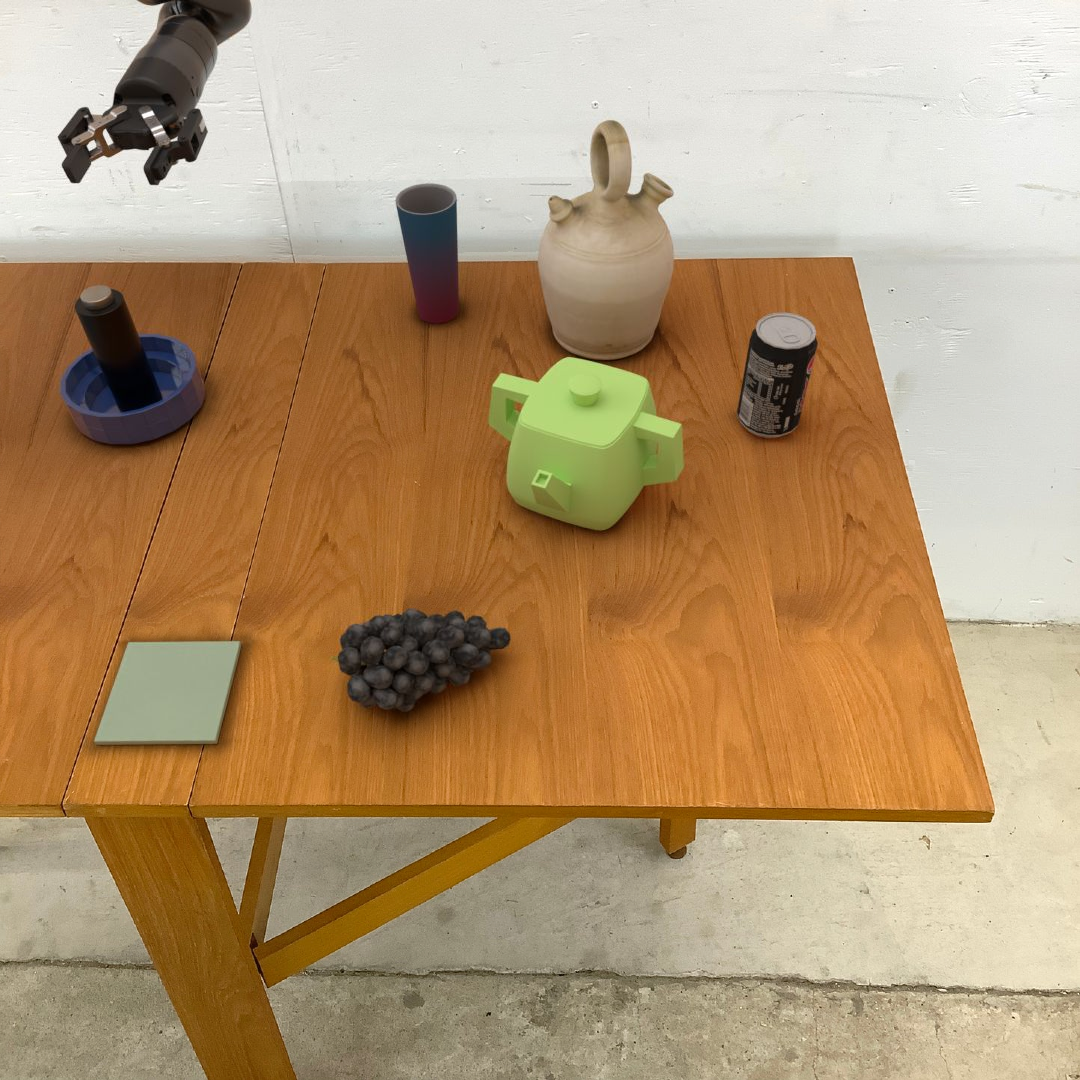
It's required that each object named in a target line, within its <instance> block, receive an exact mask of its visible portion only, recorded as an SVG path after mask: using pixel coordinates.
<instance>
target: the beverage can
mask: <svg viewBox="0 0 1080 1080" xmlns="http://www.w3.org/2000/svg"><path fill="white" fill-rule="evenodd" d="M818 345H819V342H818V340H817V331H816V327H815V325H814V324H813V323H812V322H811V320H809V319H808V318H806V317H803V316H802V315H799V314H797V313H791V312H785V311H784V312H782V311H781V312H772V313H769V314H766V315H764V316H763V317H761V318H760V319H759V320H758V321H757V323H756V326H755V328H753V330H752V332H751V334H750V337H749V341H748V348H747V352H746V353H747V354H746V359H745V365H744V371H743V376H742V381H741V382H742V383H741V388H740V394H739V399H738V405H737V412H736V415H737V418H738V422H739V423H740V424H741V425H742V426H743V427H744V428H745V429H746V430H747V431H748V432H749V433H750V434H752V435H755V436H756V437H760V438H765V439H778V438H780V437H783V436H786V435H788V434H792V432H793V431H795V430H796V429H797V428H798V427H799V423H800V420H801V415H802V411H803V408H804V403H805V399H806V395H807V389H808V386H809V383H810V378H811V373H812V369H813V365H814V361H815V356H816V353H817V349H818Z"/></svg>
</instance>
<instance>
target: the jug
mask: <svg viewBox="0 0 1080 1080" xmlns="http://www.w3.org/2000/svg"><path fill="white" fill-rule="evenodd" d="M632 158H633V157H632V149H631V143H630V139H629V136H628V134H627V131H626V129H625V127H624V126H623V125H622V123H620V122H619V121H617V120H615V119H607V120H604V121H601V122H600V123H599V124H597V126H596V127H595V129H594V130H593V131H592V136H591V140H590V149H589V160H590V161H589V162H590V163H589V165H590V172H591V177H592V178H591V179H592V181H593V188H592V189H591V191H588V192H585V193H582V194H580V195H578V196H576V197H574V198H572V199H568V198H562V197H560V196H558V195H556V194H555V195H551V196H550V197H549V198H548V200H547V205H548V209H549V220H548V222H547V223H546V225H545V228H544V230H543V233H542V235H541V238H540V242H539V246H538V253H537V270H538V275H539V281H540V285H541V290H542V295H543V299H544V304H545V308H546V312H547V316H548V319H549V322H550V325H551V327H552V329H551V330H552V334H553V336H554V338H555V340H556V342H557V343H558V344H559V345H560V346H561V347H562V348H563V350H566V351H567V352H569V353H571V354H573V355H576V356H578V357H581V358H585V359H589V360H595V361H612V360H619V359H622V358H627V357H629V356H633V355H635V354H637V353H638V352H640V351H642V350H643V349H644V348H645V347H647V346H648V344H649V343H650V342H651V341H652V339H653V337H654V335H655V331H656V329H657V327H658V324H659V321H660V317H661V315H662V311H663V310H662V309H663V306H664V302H665V300H666V298H667V295H668V292H669V288H670V286H671V281H672V277H673V272H674V267H675V251H674V243H673V242H674V241H673V239H672V235H671V232H670V228H669V227H668V225H667V222H666V221H665V219H664V217H663V216H662V214H661V213H660V211H659V207H660V205H662V203H664V202H666V201H667V199H670V198H672V197H674V195H675V192H674V190H673V188H672V187H671V186H670V185H669V184H667V183H666V182H665V181H663V179H661V178H660V177H657V176H656V175H654V174H651V173H649V172H645V173H644V174H643V177H642V178H643V181H642V184H641V186H640V190H639V192H637V193H629V192H628V191H629V188H630V186H631V181H632V172H633V171H632V168H633V167H632V165H633V163H632Z"/></svg>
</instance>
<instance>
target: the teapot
mask: <svg viewBox="0 0 1080 1080" xmlns="http://www.w3.org/2000/svg"><path fill="white" fill-rule="evenodd" d="M516 402H517V403H519V404H522V405H523V406H522V408H521V409H520V412H519V411H518V410H516V409H515V407H516V406H515V405H516V404H515V403H516ZM488 411H489V412H488V420H487V423H488V424H487V425H488V426H489V427H491V428H492V429H493V430H495V431H496V432H497V433H499V434H500V435H501V436H502V437H504V438H505V439H506V440H507V441H509V442H510V446H509V449H508V454H507V455H508V456H507V462H506V463H507V465H506V486H507V489H508V492H509V494H510V496H511V497H512V499H513V500H514V501H515V502H516V503H517V505H519V506H521V507H522V508H525V509H527V510H530V511H532V512H535V513H537V514H541V515H543V516H545V517H550V518H551V519H554V520H558V521H561V522H563V523H567V524H570V525H575V526H578V527H582V528H584V529H585V528H586V529H590V530H594V531H605V530H608V529H610V528H611V527H613V526H614V525H615V524H616V523H618V521H619V520H620V519H621V518H622V517H623V516H624V514H625V513H626V512H627V511H628V510H629V508H630V507H631V506H632V504H634V502H635V500H636V499H637V498H638V496H639V495H640V493H641V491H642V490H643V489H644V486H652V485H658V484H665V483H666V484H667V483H671V482H676V481H677V480H678V478H679V477H680V475H681V473H682V472H683V470H684V468H685V459H684V442H683V441H684V440H683V425H682V423H680V422H676V421H673V420H670V419H667V418H663V417H660V416H658V413H657V408H656V404H655V399H654V396H653V392H652V389H651V385H650V383H649V380H648V379H647V378H646V377H644V376H642V375H639V374H636V373H635V372H630V371H628V370H625V369H621V368H618V367H613V366H610V365H608V364H607V365H606V364H604V363H599V362H595V361H591V360H587V359H582V358H577V357H571V356H567V357H565V358H561V359H560V360H559V361H557V362H556V363H555V364H554V365H552V366H551V367H550V368H549V369H548V370H547V371H546V373H545V374H544V375H543V376H542V377H541V378H540V379H539V381H538V382H537V381H534V380H530V379H527V378H523V377H519V376H515V375H511V374H507V373H504V372H500V373H499V376H498V377H497V378H496V379H495V381H494V382H493V384H492V385H491V391H490V402H489V409H488Z"/></svg>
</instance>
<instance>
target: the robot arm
mask: <svg viewBox="0 0 1080 1080" xmlns="http://www.w3.org/2000/svg"><path fill="white" fill-rule="evenodd" d="M136 1H137V2H139V3H140V4H142V5H145V6H149V7H155V6H159V5H162V6H161V8H160V9H159V13H158V17H157V23H156V29H155V30H154V32H153V33H152V35H151V36H150V37H149V40H148V41H147V42H146V43H145V45H144V46H142V48H140V50H139V51H138V52H137V53H136V55H135V57H134V58H133V59H132V61H131V63H130V64H129V66H128V67H127V68H126V70H125V72H124V74H123V75H122V76H121V78H120V80H119V81H118V83H117V84H116V86H115V89H114V92H113V99H112V106H111V107H109V108H108V109H107V110H105V111H104V112H103V113H102V114H92V112H91V110H90V108H89V107H88V106H82V107H80V108H78V109H77V111H76V112H75V113H74V114H73V116H72V117H71V118H70V119H69V121H68V122H67V123H66V125H65V126H64V128H63V129H62V130H61V131H60V133H59V134H58V136H57V139H58V141H59V143H60V146H61V147H62V149H63V151H64V153H65V158H64V159H63V160H62V163H61V168H62V170H63V172H64V173H65V176H66V177H67V179H68V181H69V182H70V183H71V184H80V183H81V182H82V180H83V179H84V176H86V174H87V173H88V171H89V169H90V167H91V165H92V163H93V162H94V161H97V160H98V159H100V158H102V157H105V158H108V159H109V158H112V157H113V156H115V155H118V154H119V153H120V152H123V151H130V150H137V151H138V150H139V151H149V150H150V149H152V151H151V152H150V153H149V155H148V157H147V159H146V161H145V162H144V164H143V167H142V168H143V169H142V170H143V173H144V175H145V178H146V179H147V182H148V184H149V185H150V186H159V185H160V183H161V181H163V180H165V179H166V178H167V176H168V174H169V172H170V170H171V168H172V166H176V165H177V164H178V163H179V161H180V160H184V161H185V162H186V163H193V162H196V161H197V159H198V157H199V154H200V152H201V150H202V147H203V146H204V145H203V144H204V142H205V140H206V137H207V135H208V133H209V131H208V128H207V126H206V121H205V119H204V117H203V113H202V111H201V109H199V108H196V107H197V105H198V103H199V102H200V100H201V98H202V96H203V92H204V88H205V85H206V83H207V81H208V80H209V78H210V77H211V74H212V73H213V70H214V68H215V66H216V63H217V60H218V56H219V55H218V54H219V48H218V46H220V45H221V44H223V43H224V42H226V41H227V40H229V39H230V38H232V37H233V36H235V35H236V34H238V33H240V32H241V31H243V30H244V29H245V28H246V27H247V26H248V24H249V23H250V21H251V18H252V13H253V10H252V9H253V8H252V1H251V0H136ZM105 130H106V132H107V134H108V136H109V138H110V139H111V141H112V143H111V144H108V143H107V141H106V138H105V136H104V131H105ZM174 139H176V140H174ZM91 142H94V143H95V147H94V148H92V149H91V150H90V149H89V147H88V145H89V144H90V143H91Z"/></svg>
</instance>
